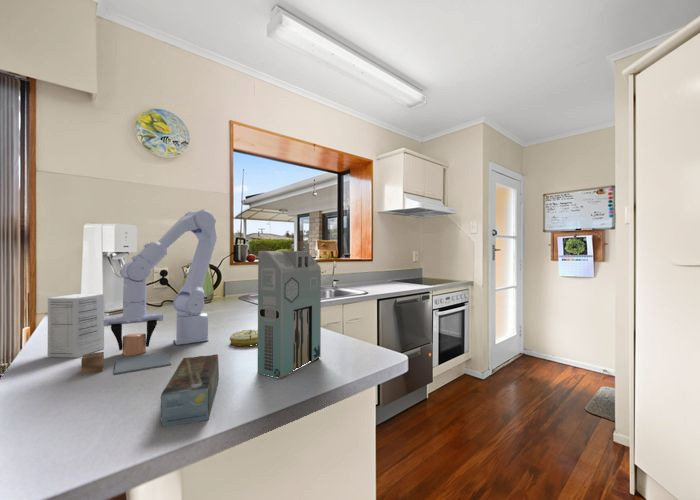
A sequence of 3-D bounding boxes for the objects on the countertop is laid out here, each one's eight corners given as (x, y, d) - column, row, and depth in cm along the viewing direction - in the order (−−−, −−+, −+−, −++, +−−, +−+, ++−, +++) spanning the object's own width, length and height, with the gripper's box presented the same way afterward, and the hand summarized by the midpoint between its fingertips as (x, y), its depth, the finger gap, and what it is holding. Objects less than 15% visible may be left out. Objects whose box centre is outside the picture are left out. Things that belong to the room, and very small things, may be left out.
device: (281, 379, 74) (282, 251, 74) (256, 373, 78) (257, 251, 78) (320, 359, 88) (321, 251, 89) (298, 355, 92) (299, 251, 92)
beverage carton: (157, 429, 53) (158, 389, 53) (181, 384, 72) (181, 355, 72) (209, 421, 56) (209, 384, 56) (219, 380, 74) (219, 352, 74)
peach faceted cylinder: (145, 348, 98) (145, 332, 98) (145, 353, 93) (145, 336, 93) (122, 351, 95) (123, 334, 95) (122, 356, 90) (122, 339, 90)
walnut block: (103, 367, 82) (103, 351, 82) (102, 372, 79) (102, 355, 79) (83, 370, 80) (83, 354, 80) (81, 375, 76) (81, 358, 76)
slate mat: (167, 353, 93) (167, 351, 93) (170, 365, 83) (170, 363, 83) (116, 360, 87) (116, 359, 87) (113, 374, 77) (113, 372, 77)
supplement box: (105, 348, 98) (106, 293, 98) (76, 358, 88) (77, 297, 89) (77, 347, 99) (77, 293, 99) (45, 357, 89) (46, 297, 90)
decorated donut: (243, 338, 111) (243, 327, 111) (270, 340, 108) (270, 329, 108) (223, 346, 101) (223, 334, 101) (252, 349, 98) (252, 337, 98)
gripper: (102, 305, 87) (102, 355, 86) (164, 301, 95) (163, 347, 95) (104, 302, 92) (104, 349, 92) (162, 298, 101) (162, 341, 100)
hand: (134, 347), depth 94 cm, fingers open, 6 cm apart
